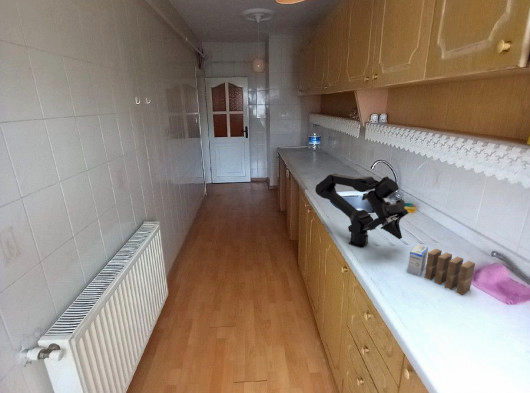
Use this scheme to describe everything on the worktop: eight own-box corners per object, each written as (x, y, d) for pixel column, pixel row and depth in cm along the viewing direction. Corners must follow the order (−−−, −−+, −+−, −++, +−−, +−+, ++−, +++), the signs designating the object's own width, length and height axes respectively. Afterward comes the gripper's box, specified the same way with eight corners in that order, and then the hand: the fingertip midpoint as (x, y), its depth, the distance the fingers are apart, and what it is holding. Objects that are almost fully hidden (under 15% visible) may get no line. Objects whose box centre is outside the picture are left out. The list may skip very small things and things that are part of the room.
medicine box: (412, 263, 115) (415, 243, 112) (425, 267, 112) (428, 246, 109) (406, 272, 109) (409, 251, 106) (420, 276, 106) (423, 255, 104)
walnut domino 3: (444, 287, 100) (449, 260, 97) (452, 281, 102) (456, 256, 99) (451, 290, 98) (456, 263, 95) (458, 284, 101) (463, 258, 98)
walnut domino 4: (455, 292, 97) (460, 265, 94) (463, 286, 100) (468, 260, 97) (462, 295, 95) (467, 268, 92) (470, 289, 98) (475, 263, 95)
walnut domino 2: (434, 282, 103) (438, 256, 100) (441, 277, 105) (446, 252, 102) (440, 285, 101) (444, 259, 98) (448, 280, 104) (452, 254, 101)
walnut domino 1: (424, 277, 106) (428, 252, 103) (432, 272, 108) (435, 248, 105) (430, 280, 104) (434, 254, 101) (437, 275, 106) (441, 250, 103)
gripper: (376, 198, 108) (401, 236, 102) (407, 189, 117) (430, 223, 112) (358, 212, 117) (379, 248, 111) (387, 202, 126) (409, 235, 121)
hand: (400, 238), depth 113 cm, fingers closed
